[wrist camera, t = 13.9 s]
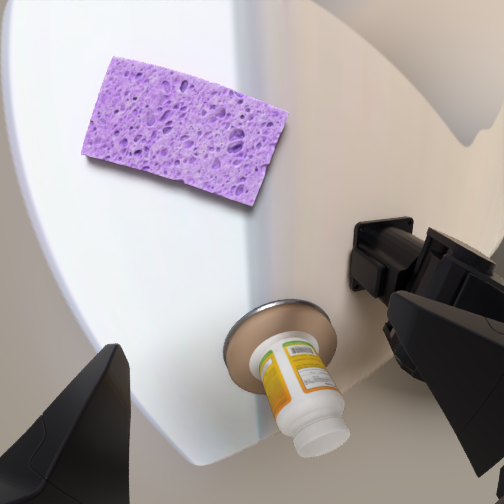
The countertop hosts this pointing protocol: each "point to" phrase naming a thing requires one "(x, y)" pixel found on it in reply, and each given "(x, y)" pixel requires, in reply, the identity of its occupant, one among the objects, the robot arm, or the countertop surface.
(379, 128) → the countertop surface
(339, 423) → the supplement bottle
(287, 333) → the turntable platter
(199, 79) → the purple sponge
